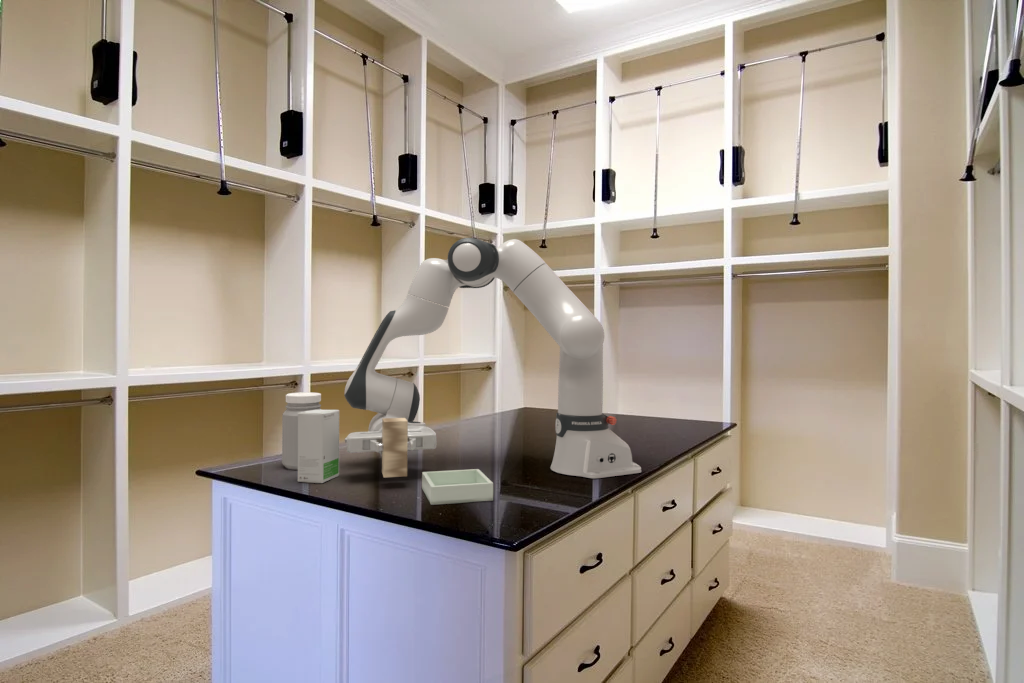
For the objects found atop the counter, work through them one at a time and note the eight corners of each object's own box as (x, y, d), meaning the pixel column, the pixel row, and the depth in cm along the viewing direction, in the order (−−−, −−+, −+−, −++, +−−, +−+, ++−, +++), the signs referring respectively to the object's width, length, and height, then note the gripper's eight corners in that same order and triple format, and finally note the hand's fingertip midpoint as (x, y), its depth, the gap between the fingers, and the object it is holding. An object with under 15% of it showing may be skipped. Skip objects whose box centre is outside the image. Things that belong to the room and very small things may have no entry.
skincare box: (321, 484, 128) (322, 413, 128) (294, 482, 129) (295, 412, 129) (340, 475, 136) (341, 409, 136) (314, 473, 138) (315, 407, 137)
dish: (478, 484, 130) (478, 468, 130) (493, 500, 118) (493, 483, 118) (421, 488, 126) (422, 472, 126) (431, 504, 114) (431, 487, 114)
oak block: (404, 470, 131) (405, 417, 131) (407, 476, 126) (407, 421, 126) (381, 472, 130) (382, 418, 129) (383, 477, 125) (384, 421, 125)
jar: (291, 461, 150) (292, 391, 150) (329, 461, 150) (329, 392, 150) (275, 470, 140) (275, 395, 140) (315, 470, 140) (315, 396, 140)
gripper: (344, 424, 137) (345, 435, 124) (431, 422, 143) (440, 431, 130) (344, 451, 137) (345, 464, 124) (430, 447, 143) (440, 459, 130)
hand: (395, 447), depth 127 cm, fingers closed on oak block, 5 cm apart
